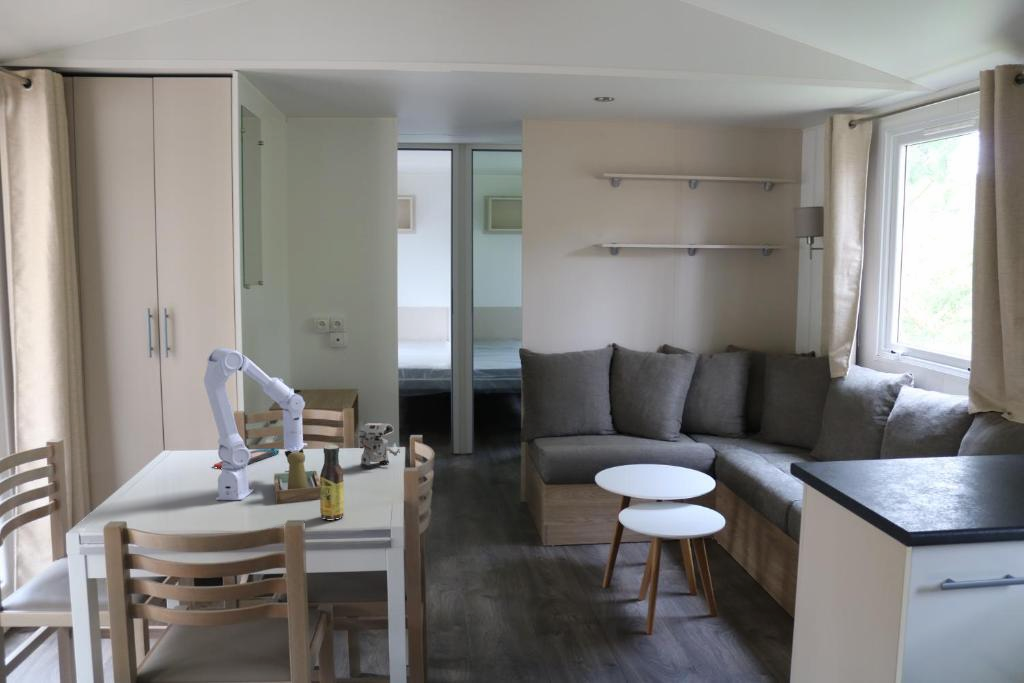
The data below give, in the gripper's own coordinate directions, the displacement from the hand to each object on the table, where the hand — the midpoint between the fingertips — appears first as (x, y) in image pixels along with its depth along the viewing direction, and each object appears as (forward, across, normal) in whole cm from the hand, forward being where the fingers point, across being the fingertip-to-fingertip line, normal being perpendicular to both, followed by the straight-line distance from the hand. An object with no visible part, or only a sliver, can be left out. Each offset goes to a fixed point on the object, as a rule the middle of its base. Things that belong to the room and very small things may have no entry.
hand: (294, 473), depth 248 cm
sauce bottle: (+3, -39, -7) cm, 40 cm away
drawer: (+2, -10, 0) cm, 10 cm away
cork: (+1, -16, 0) cm, 16 cm away
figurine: (+3, +8, -28) cm, 29 cm away
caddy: (+3, -12, 0) cm, 13 cm away
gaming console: (+4, +34, +14) cm, 37 cm away
